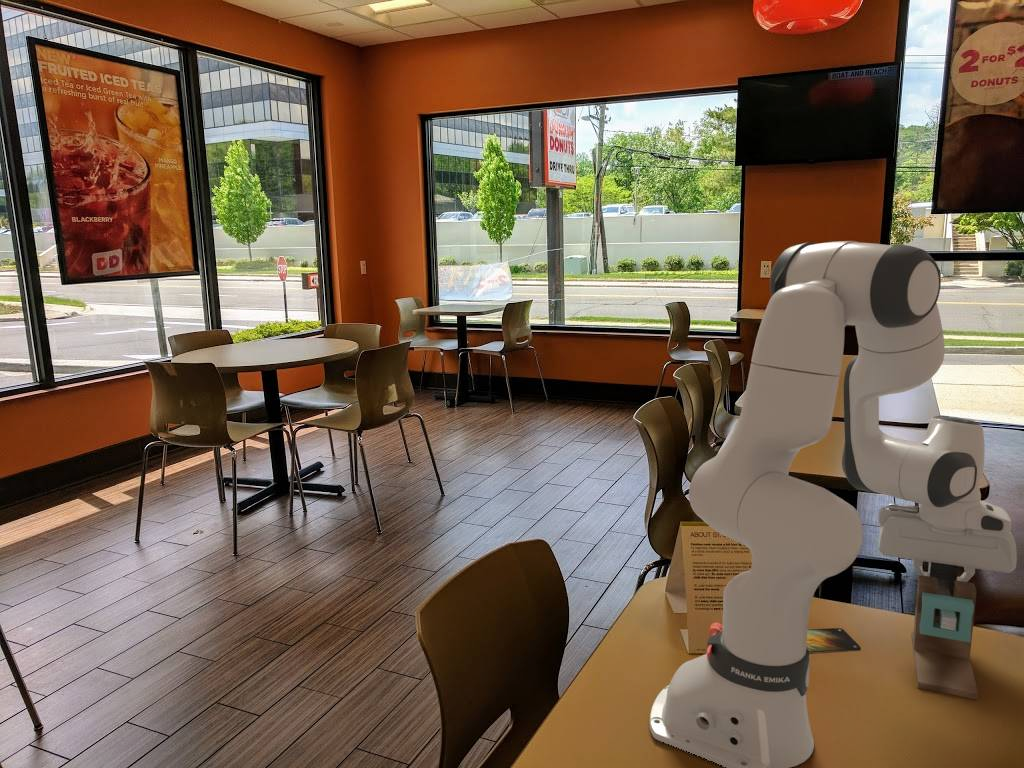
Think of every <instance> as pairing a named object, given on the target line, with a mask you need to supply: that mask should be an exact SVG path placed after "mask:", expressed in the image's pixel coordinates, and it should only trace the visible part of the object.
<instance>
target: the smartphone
mask: <svg viewBox="0 0 1024 768" xmlns="http://www.w3.org/2000/svg"><path fill="white" fill-rule="evenodd" d="M806 645H807V647H808V649H809V654H815V653H816V654H817V653H819V654H820V653H821V654H822V653H835V652H850V651H851V652H852V651H853V652H854V651H861V649H862V648H861V646H860V645H859V644H858V642H856V640H855V639H853V637H852V636H850V635H849V633H848V632H846V630H845V629H843V628H841V627H834V628H833V627H832V628H831V627H829V628H812V629H810V628H809V629H807V643H806Z"/></svg>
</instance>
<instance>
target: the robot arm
mask: <svg viewBox="0 0 1024 768" xmlns="http://www.w3.org/2000/svg"><path fill="white" fill-rule="evenodd" d="M941 277H942V276H941V272H940V268H939V266H938V263H937V262H936V261H935V259H934V258H933V257H932V256H931V254H929V252H927V251H926V250H925V249H922V248H920V247H916V246H912V245H907V244H899V243H897V244H894V245H889V244H884V243H883V244H881V243H872V242H871V243H870V242H859V241H856V240H845V241H844V240H843V241H841V240H839V241H828V242H821V243H817V242H813V241H812V242H804V243H800V244H796V245H792V246H789V247H788V248H787V249H786V248H785V249H784V251H783V252H782V253H780V255H779V257H778V258H777V260H775V263H774V264H773V267H772V268H771V272H770V276H769V293H770V296H771V297H770V299H769V301H768V303H767V306H766V308H765V311H764V313H763V315H762V318H761V322H760V325H759V329H758V331H757V335H756V337H755V342H754V347H753V350H752V354H751V355H752V356H751V363H750V368H749V371H748V378H747V383H746V388H745V393H744V397H743V403H742V407H741V410H740V414H739V417H738V421H737V423H736V426H735V428H734V430H733V432H732V434H731V436H730V437H729V439H728V440H727V442H726V444H725V445H724V447H723V448H722V449H721V450H720V451H719V453H717V455H715V456H714V457H712V458H710V459H708V460H707V461H704V462H703V463H702V464H701V465H700V466H699V467H698V468H697V469H696V471H695V473H694V474H693V476H692V477H691V478H692V479H691V482H690V483H689V489H688V501H689V503H690V504H689V505H690V507H691V509H692V511H693V513H695V515H696V516H697V517H699V519H701V520H702V521H703V522H704V523H705V524H707V525H708V526H709V527H710V528H711V529H713V530H714V531H715V532H717V533H718V534H721V535H723V536H725V537H727V538H729V539H730V540H733V541H735V542H736V543H739V544H741V545H743V546H746V547H747V548H748V549H749V551H750V553H751V556H752V557H751V566H750V569H749V570H746V571H743V572H740V573H739V574H737V575H735V576H734V577H733V578H732V579H730V580H729V582H728V583H727V584H726V586H725V587H724V589H723V590H724V591H723V596H722V597H723V598H722V599H723V602H722V624H721V622H713V623H712V624H711V625H710V626H709V627H710V628H709V629H708V632H707V633H708V640H707V645H706V653H705V654H703V655H700V656H698V657H695V658H693V659H691V660H687V661H685V662H684V663H682V664H681V665H680V666H679V667H678V669H677V670H676V671H675V673H673V674H674V675H673V676H672V678H671V680H670V683H669V684H668V685H666V687H665V686H664V688H662V690H661V691H660V692H659V693H658V694H657V696H656V698H655V699H654V701H653V704H652V706H651V709H650V714H649V730H650V733H651V735H652V737H653V738H654V739H655V740H657V741H659V742H661V743H663V742H664V744H666V745H668V744H669V746H671V745H672V746H671V747H673V746H674V748H676V747H677V748H676V749H678V748H679V749H678V750H681V749H682V750H681V751H683V750H684V751H683V752H686V751H687V752H686V753H688V752H690V753H689V754H691V753H692V754H691V755H693V754H695V755H697V756H696V757H698V756H701V757H703V758H705V759H707V760H706V761H708V760H711V761H713V762H715V763H717V764H716V765H718V764H719V765H718V766H720V765H722V766H721V767H723V768H725V767H726V768H792V767H797V766H798V765H800V764H803V763H805V762H806V761H807V760H808V759H809V758H810V757H811V755H812V754H813V752H814V748H815V740H814V737H813V733H812V729H811V725H810V720H809V714H808V705H807V691H808V688H809V683H810V669H811V667H810V666H811V659H810V653H809V649H808V647H807V645H806V643H807V629H808V627H809V616H810V610H811V609H810V607H811V603H812V599H813V597H814V594H815V592H816V590H817V589H818V587H819V586H820V585H821V583H822V582H823V581H825V580H826V579H828V578H830V577H834V576H836V575H838V574H840V573H842V572H843V571H845V570H847V569H848V568H849V567H850V566H851V565H852V564H853V563H854V562H855V560H856V558H857V557H858V555H859V553H860V551H861V548H862V545H863V541H864V528H863V523H862V519H861V516H860V514H859V512H858V510H857V509H856V508H855V506H853V505H851V504H850V503H849V502H847V501H845V500H844V499H843V498H841V497H839V496H837V494H834V493H833V492H831V491H830V490H828V489H826V488H824V487H822V486H819V485H817V484H814V483H811V482H808V481H806V480H802V479H799V478H797V477H794V476H791V475H789V473H790V472H789V471H790V468H791V465H792V463H793V460H794V459H795V457H796V456H797V454H798V453H799V452H800V450H801V449H803V448H806V447H809V446H812V445H814V444H816V443H819V442H821V441H822V440H823V439H824V438H825V437H826V436H827V435H828V433H829V431H830V429H831V426H832V420H833V415H834V409H835V404H836V399H837V394H838V388H839V382H840V378H841V377H840V376H841V372H842V366H843V365H842V364H843V357H844V348H845V328H846V326H855V332H856V333H855V335H856V338H857V344H858V355H856V356H854V357H853V358H852V359H851V360H850V361H849V362H848V364H847V366H846V370H845V373H844V379H843V421H844V422H843V423H844V424H843V425H844V428H843V429H844V446H843V451H842V458H841V468H842V472H843V474H844V476H845V478H846V479H847V481H848V483H849V484H850V485H851V486H852V487H853V488H854V489H856V490H857V491H858V490H859V491H864V492H867V493H868V492H869V493H874V494H881V495H885V496H888V497H892V498H896V499H899V500H900V499H901V500H903V501H906V502H912V503H915V504H918V505H909V504H908V505H907V504H905V505H902V504H897V503H889V504H887V505H884V506H882V507H881V508H880V509H879V511H878V519H877V521H878V524H879V525H880V526H881V528H880V531H879V536H878V551H879V552H880V553H881V555H882V556H884V557H890V558H891V557H892V558H899V559H905V560H912V565H913V567H914V569H915V570H916V573H917V574H918V575H921V576H928V577H929V573H928V571H924V570H923V568H922V567H923V564H924V562H925V563H926V562H927V563H929V562H933V563H941V564H948V565H955V566H958V567H962V568H964V572H963V573H962V574H961V575H960V576H958V575H957V581H962V582H969V581H970V580H971V578H973V577H974V575H975V574H976V570H977V569H978V570H986V571H992V572H1000V573H1007V574H1010V573H1011V572H1013V571H1014V570H1015V569H1016V567H1017V560H1018V558H1017V543H1016V539H1015V538H1014V535H1013V533H1012V532H1011V530H1012V519H1011V517H1010V515H1009V514H1008V512H1007V511H1006V510H1005V509H1004V508H1002V507H999V506H997V505H994V504H992V503H990V502H987V501H983V500H981V498H982V494H981V493H982V492H981V490H980V481H981V478H982V477H983V475H984V470H985V469H984V467H985V466H984V465H985V453H986V452H985V451H986V450H985V436H984V435H985V434H984V429H983V426H982V425H981V424H980V423H978V422H977V421H975V420H970V419H967V418H960V417H957V416H956V417H955V416H949V415H936V416H933V417H931V418H930V420H929V422H928V426H927V429H926V433H925V438H924V440H923V441H921V442H917V441H912V440H909V439H908V440H907V439H902V438H898V437H894V436H891V435H889V434H886V433H885V432H883V431H882V430H881V429H880V424H879V423H880V419H879V418H880V410H879V409H880V397H883V396H888V395H894V394H902V393H905V392H907V391H911V390H914V389H915V388H918V387H920V386H921V385H924V384H925V383H926V382H928V381H929V380H931V379H932V378H933V377H934V376H935V375H936V374H937V373H938V371H939V370H940V368H941V366H942V364H943V362H944V360H945V359H944V358H945V346H946V344H945V337H944V330H943V325H942V320H941V314H940V311H939V307H938V299H939V295H940V293H941V286H942V285H941V283H942V281H941V280H942V279H941ZM695 755H694V756H695ZM703 758H702V759H703ZM705 759H704V760H705ZM713 762H712V763H713ZM715 763H714V764H715Z"/></svg>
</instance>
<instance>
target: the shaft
mask: <svg viewBox="0 0 1024 768" xmlns="http://www.w3.org/2000/svg"><path fill="white" fill-rule="evenodd" d="M927 569H928V571H927V572H928V573H929V577H935V578H937V581H938V595H944V596H951V597H953V595H954V584H955V580H956V581H957V576H958V573H959V566H955V565H948V564H941V563H933V562H928V568H927ZM937 612H938V617H939V622H940V627H941V628H943V629H949V630H956V620H957V619H956V615H955V611H950V610H944V609H937Z"/></svg>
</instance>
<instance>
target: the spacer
mask: <svg viewBox="0 0 1024 768" xmlns="http://www.w3.org/2000/svg"><path fill="white" fill-rule="evenodd" d="M935 608H937V609H944V610H950V611H956V612H958V623H957V626H956V630H949V629H943V628H941V627H940V623H938V622H933V620H934V609H935ZM973 609H974V604H973V601H972V600H970V599H964V598H957V597H951V596H944V595H938V594H931V593H925V592H922V611H921V620H920V626H919V629H920V634H925V635H930V636H936V637H942V638H947V639H953V640H959V641H965V642H970V639H971V622H972V614H973Z"/></svg>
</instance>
